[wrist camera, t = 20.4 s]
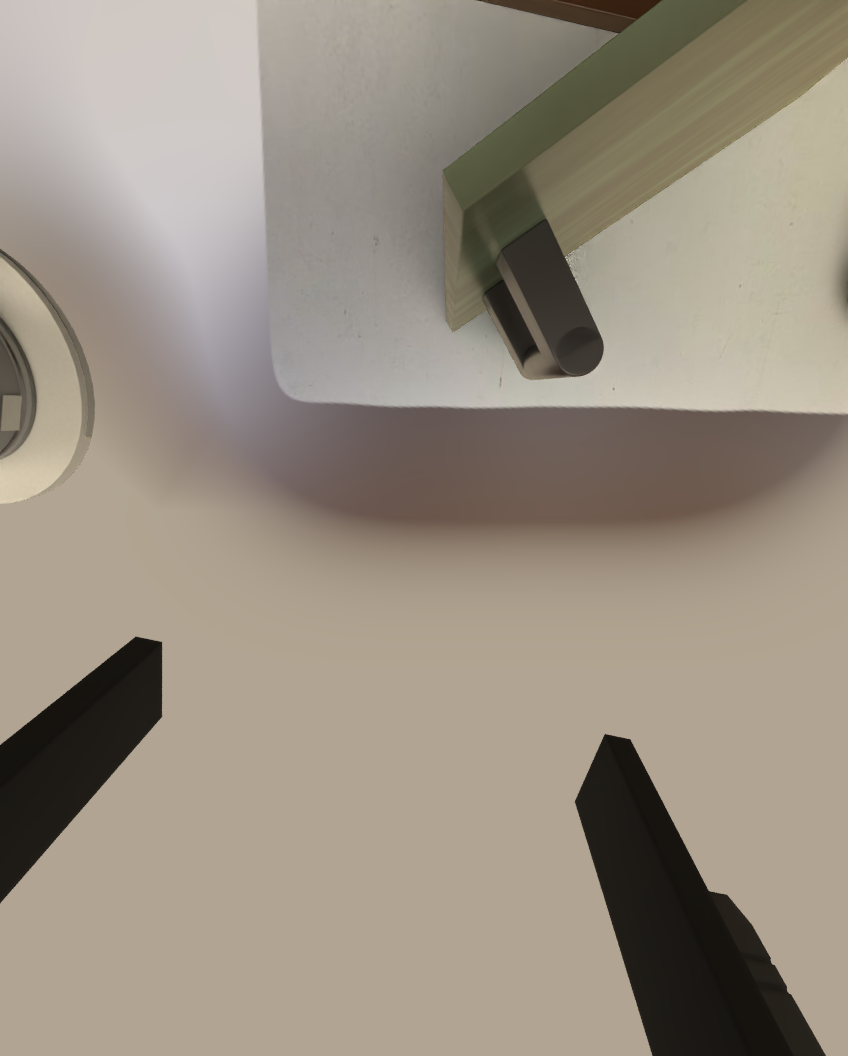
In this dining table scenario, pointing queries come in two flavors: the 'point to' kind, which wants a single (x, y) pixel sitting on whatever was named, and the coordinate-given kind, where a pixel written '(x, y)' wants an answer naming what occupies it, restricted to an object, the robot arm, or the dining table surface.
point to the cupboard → (586, 10)
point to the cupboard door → (615, 157)
